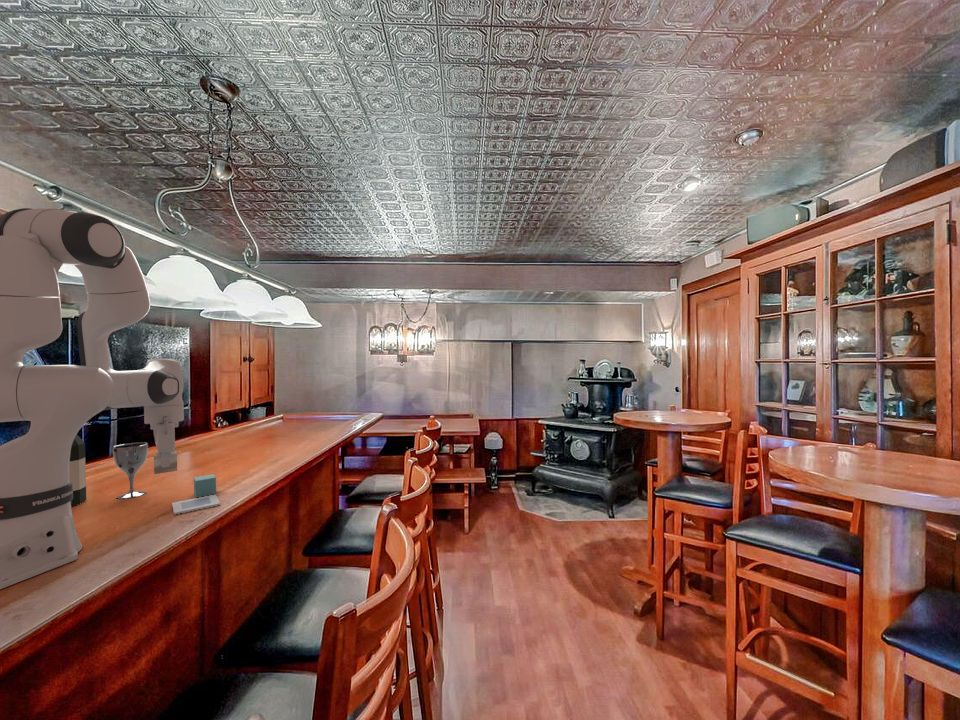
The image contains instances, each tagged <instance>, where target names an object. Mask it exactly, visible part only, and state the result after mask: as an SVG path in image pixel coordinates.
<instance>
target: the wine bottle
mask: <svg viewBox="0 0 960 720" xmlns="http://www.w3.org/2000/svg"><path fill="white" fill-rule="evenodd" d="M86 468H87V467H86V443H85V442H84V440H83V439H82V438H81V437H80V436H79V435H78V434H77V435H76V436H75V438H74V441H73V443H72V447H71V453H70V464H69V481H70V482H72V487H73V499H72V502H71V507H74V506H73V505H75V506H77V505H76V504H79V505H81V504H83V503H84V501H85V500H86V501H87V474H86V473H87V472H86V471H87V470H86ZM86 501H85V502H86ZM82 502H83V503H82ZM80 503H81V504H80Z"/></svg>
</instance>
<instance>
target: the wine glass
mask: <svg viewBox="0 0 960 720" xmlns="http://www.w3.org/2000/svg"><path fill="white" fill-rule="evenodd" d="M148 452H149V443H148V442H145V441H144V442H143V441H142V442H139V441H138V442H131V443H123V444H118V445H114V446H112V457H113V461H114V464H115V466H116V467H117V468H118V469H119V470H121V471H122V472H123V473H124V474H126V476H127V478H128V482H129V491H128V492H126V493H123V494H120V495H117V496H118V497H117V496H116V497H117V498H118V499H117V500H128V499H127V498H129V499H134V497H135V498H139V497H141V496H144V495H147V494H148V491H147V490H134V481H135V476H136V474H137V472H138V471H139V470H140V469H141V467H143V466H144V464H145V462H146V461H147V457H148V454H149V453H148Z"/></svg>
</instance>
